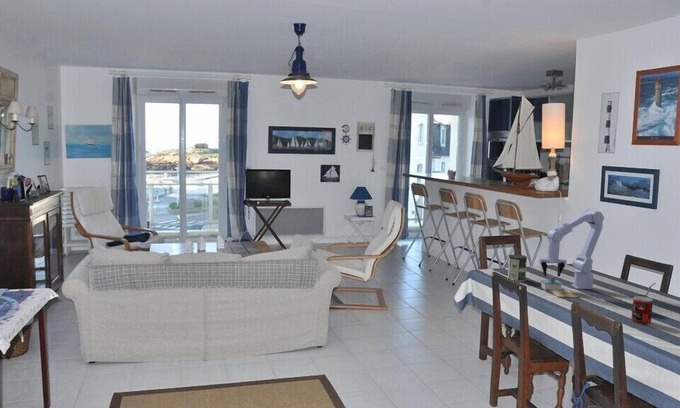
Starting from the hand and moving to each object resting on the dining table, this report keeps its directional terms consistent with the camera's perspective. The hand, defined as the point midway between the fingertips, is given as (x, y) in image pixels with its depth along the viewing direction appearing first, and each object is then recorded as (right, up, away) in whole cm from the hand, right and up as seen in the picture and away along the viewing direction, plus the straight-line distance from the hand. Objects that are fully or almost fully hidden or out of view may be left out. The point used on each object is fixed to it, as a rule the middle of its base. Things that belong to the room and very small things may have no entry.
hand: (551, 275), depth 315 cm
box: (0, -7, +1) cm, 7 cm away
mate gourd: (+29, -13, -39) cm, 51 cm away
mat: (+3, -9, -11) cm, 14 cm away
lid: (0, -4, +1) cm, 4 cm away
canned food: (+21, -14, -54) cm, 60 cm away
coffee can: (-14, -5, +19) cm, 24 cm away
